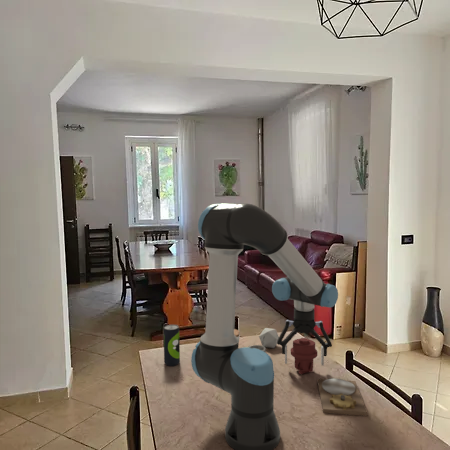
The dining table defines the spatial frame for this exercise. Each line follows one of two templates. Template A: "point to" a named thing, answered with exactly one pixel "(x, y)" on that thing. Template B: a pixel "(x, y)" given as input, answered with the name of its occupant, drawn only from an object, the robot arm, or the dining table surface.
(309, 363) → the mechanical component
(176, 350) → the beverage can
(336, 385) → the gear board
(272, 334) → the die
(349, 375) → the dining table surface
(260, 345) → the mug
